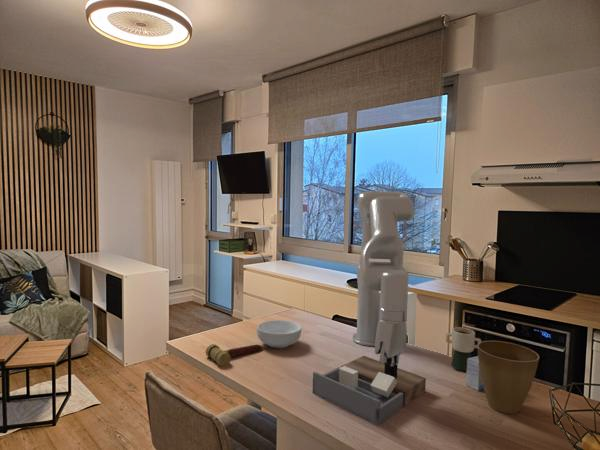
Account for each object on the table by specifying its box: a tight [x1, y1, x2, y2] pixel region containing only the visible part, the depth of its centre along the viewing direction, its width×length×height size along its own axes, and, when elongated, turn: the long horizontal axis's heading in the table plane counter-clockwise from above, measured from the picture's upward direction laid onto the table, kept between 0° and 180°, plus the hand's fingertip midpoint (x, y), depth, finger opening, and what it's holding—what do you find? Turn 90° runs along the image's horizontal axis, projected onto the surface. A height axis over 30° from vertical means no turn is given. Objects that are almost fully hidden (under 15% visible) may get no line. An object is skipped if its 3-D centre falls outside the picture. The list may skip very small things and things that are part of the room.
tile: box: [371, 372, 397, 397], centre depth 108 cm, size 5×5×2 cm
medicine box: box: [465, 355, 484, 392], centre depth 118 cm, size 8×4×9 cm, turn 118°
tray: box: [312, 366, 404, 426], centre depth 108 cm, size 12×22×6 cm, turn 46°
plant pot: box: [476, 340, 540, 415], centre depth 106 cm, size 15×15×16 cm
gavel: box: [205, 343, 265, 367], centre depth 137 cm, size 21×5×10 cm
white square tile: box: [339, 365, 358, 389], centre depth 114 cm, size 5×5×2 cm
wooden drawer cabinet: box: [340, 355, 427, 407], centre depth 117 cm, size 12×22×4 cm, turn 46°
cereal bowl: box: [256, 319, 302, 349], centre depth 148 cm, size 17×17×7 cm
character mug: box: [445, 326, 482, 371], centre depth 130 cm, size 11×7×13 cm, turn 60°
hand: (390, 377), depth 111 cm, fingers closed
